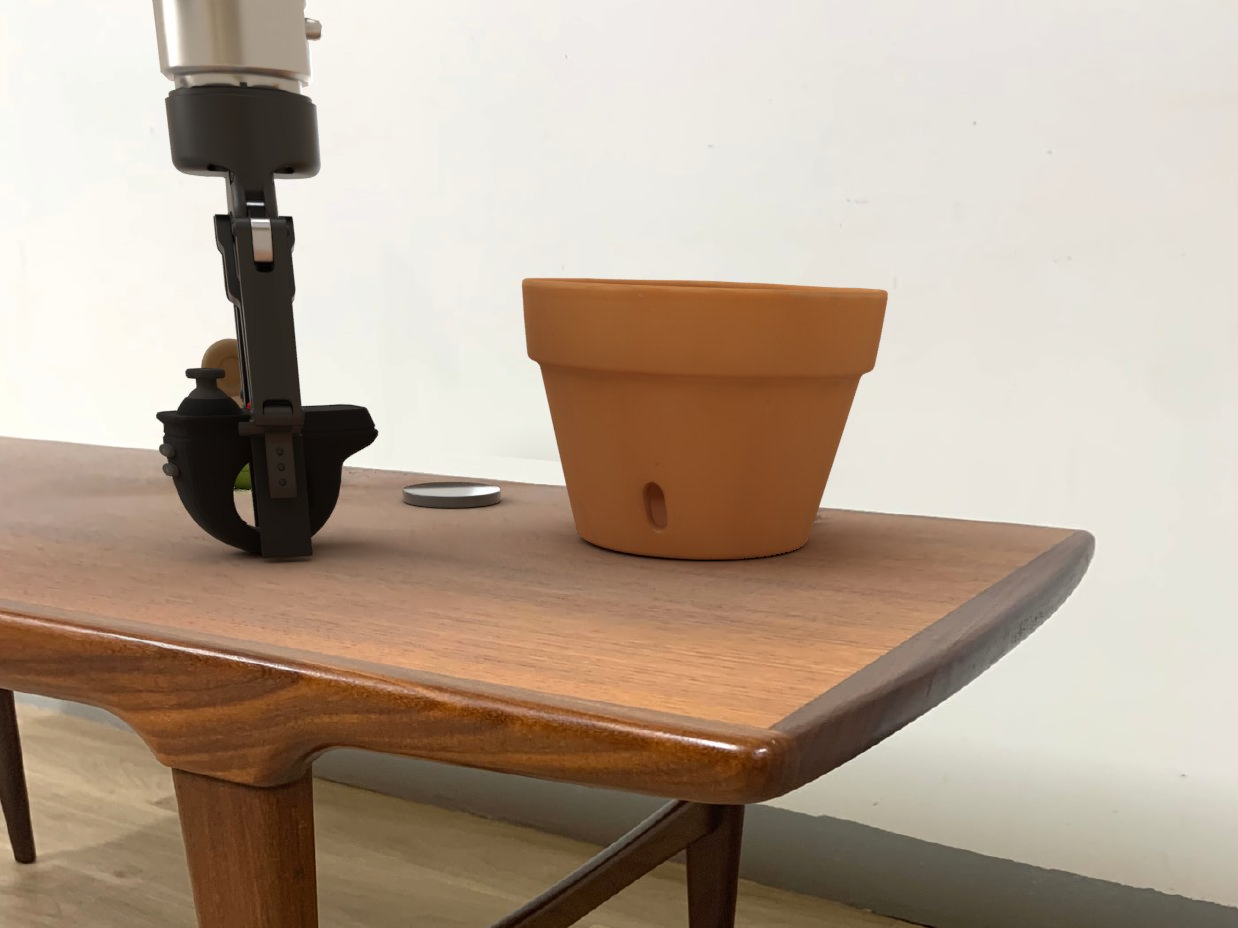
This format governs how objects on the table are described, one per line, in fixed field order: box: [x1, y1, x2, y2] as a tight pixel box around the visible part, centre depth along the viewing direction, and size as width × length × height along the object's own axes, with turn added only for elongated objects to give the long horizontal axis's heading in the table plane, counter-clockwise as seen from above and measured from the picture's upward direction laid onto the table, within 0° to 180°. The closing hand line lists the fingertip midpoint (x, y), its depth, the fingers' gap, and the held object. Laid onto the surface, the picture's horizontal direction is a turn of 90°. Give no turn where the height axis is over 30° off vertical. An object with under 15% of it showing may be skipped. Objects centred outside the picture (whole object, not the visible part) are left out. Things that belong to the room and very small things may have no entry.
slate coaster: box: [401, 481, 502, 509], centre depth 94 cm, size 7×7×1 cm
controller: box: [155, 367, 379, 554], centre depth 74 cm, size 4×12×10 cm, turn 128°
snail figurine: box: [200, 337, 251, 490], centre depth 95 cm, size 5×6×12 cm
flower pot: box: [521, 277, 889, 560], centre depth 79 cm, size 21×21×15 cm
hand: (283, 544), depth 76 cm, fingers open, 6 cm apart
